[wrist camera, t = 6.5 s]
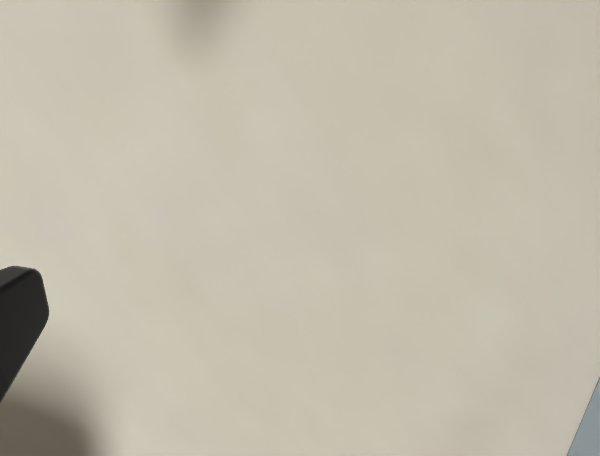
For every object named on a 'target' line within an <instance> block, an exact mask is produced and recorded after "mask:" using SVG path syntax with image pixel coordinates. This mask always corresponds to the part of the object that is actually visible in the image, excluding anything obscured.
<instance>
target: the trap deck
mask: <svg viewBox="0 0 600 456" xmlns="http://www.w3.org/2000/svg"><path fill="white" fill-rule="evenodd" d="M567 456H600V379H599V381H598V384H597V386H596V388H595V391H594V393H593V396H592V398H591V400H590V403H589V405H588V407H587V410H586V412H585V415H584V417H583V419H582V422H581V424H580V426H579V429H578V431H577V434H576V436H575V438H574V441H573V443H572V445H571V448H570V450H569V453H568V455H567Z"/></svg>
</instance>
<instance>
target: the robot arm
mask: <svg viewBox="0 0 600 456" xmlns="http://www.w3.org/2000/svg"><path fill="white" fill-rule="evenodd" d="M48 316H49V306H48V302H47V298H46V293H45V289H44V284H43V280H42V276H41V274H40V273H39V271H37V270H35V269H32V268H27V267H21V266H11V267H7V268H5V269H2V270H0V402H1V401H2V399H3V397H4V396H5V394H6V393H7V391H8V389H9V388H10V386H11V384H12V382H13V381H14V379H15V377H16V376H17V374H18V372H19V370H20V369H21V367H22V365H23V363H24V362H25V360H26V358H27V356H28V355H29V353H30V351H31V350H32V348H33V346H34V344H35V343H36V341H37V339H38V337H39V336H40V334H41V332H42V330H43V329H44V327H45V325H46V323H47V320H48Z"/></svg>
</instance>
